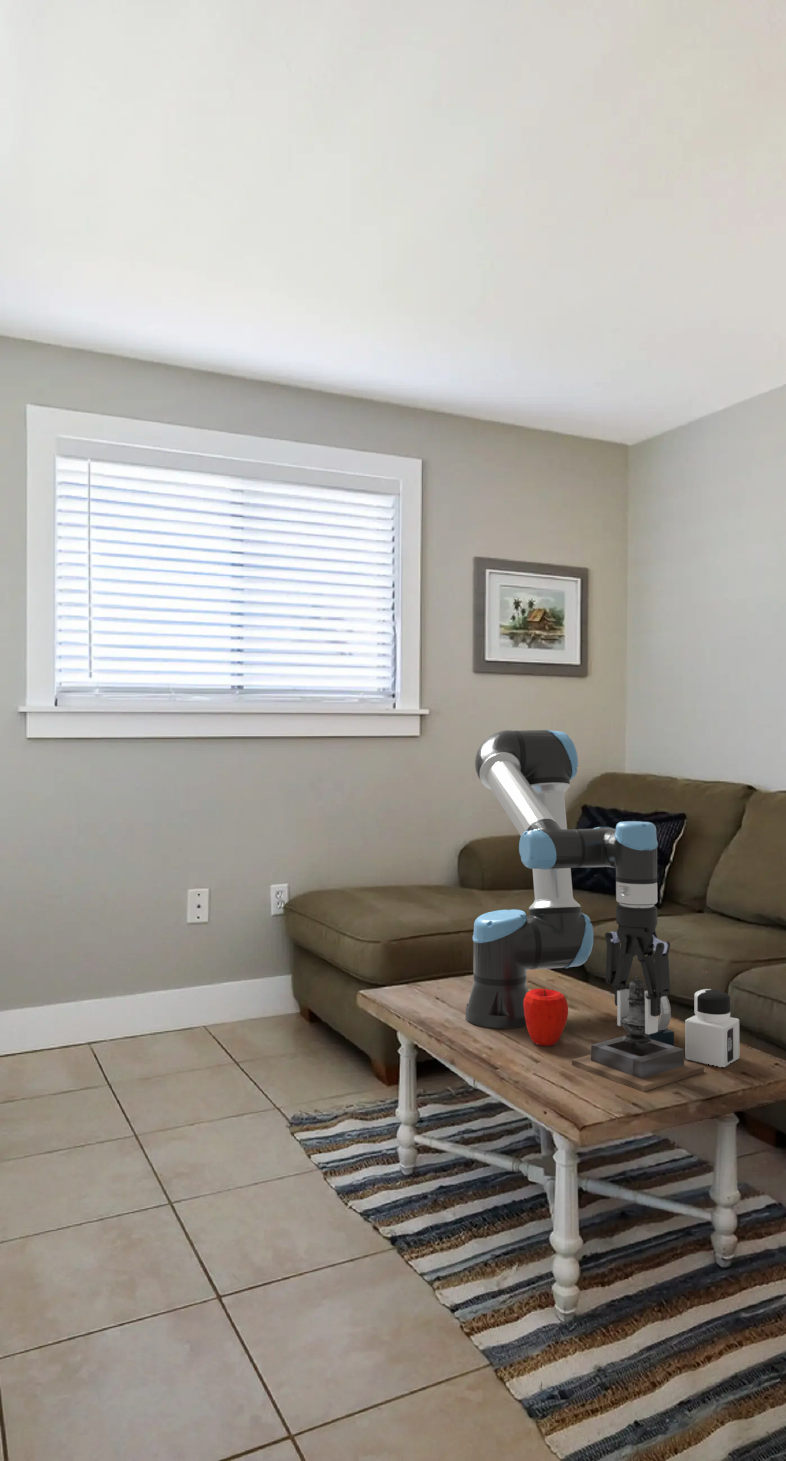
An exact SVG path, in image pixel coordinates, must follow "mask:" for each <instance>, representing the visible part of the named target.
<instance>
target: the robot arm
mask: <svg viewBox="0 0 786 1461" xmlns="http://www.w3.org/2000/svg"><path fill="white" fill-rule="evenodd" d="M474 760H475V761H474V766H475V772H476V774H477V777H478V778H479V781H480V782H481V784H482V785H483V786H484V787H485V788H486V789H489V791H490V790H491V791H492V792H493V795H494V796H495V798H496V799H497V801H498V802H499V804H500V806H501V807H502V808H503V810H504V812H505V813H506V814H507V817H508V818H509V820H510V821H511V823H512V825H513V826H514V827H515V829H516V830H517V831H518V832H517V833H518V834H519V836H520V839H519V845H518V850H519V851H518V852H519V855H520V860H521V863H522V864H523V866H524V867H526V868H528V869H531V870H532V878H533V893H534V900H533V903H532V904H531V905H530V906H529V907H528V914H529V915H528V916H527V913H526V912H525V911H524V910H521V909H515V908H513V909H500V910H499V909H498V910H493V911H489V912H485V913H483V914H481V915H479V916H477V918H476V919H475V920H474V923H473V935H472V941H473V942H472V943H473V944H472V945H473V948H472V949H473V983H472V987H471V991H470V994H469V999H468V1001H467V1003H466V1006H465V1019H466V1021H467V1022H469V1023H471V1024H472V1025H477V1026H478V1027H479V1026H480V1027H485V1028H486V1027H487V1028H493V1029H515V1028H521V1027H525V1026H526V1020H525V1014H524V1005H523V1003H524V998H525V995H526V993H527V992H529V989H528V986H527V971H529V970H545V969H548V970H549V969H569V968H573V967H580V966H582V965H583V964H585V963H586V961H588V959H589V958H590V957H589V956H590V955H591V953H592V951H593V950H592V949H593V945H594V927H593V924H592V923H591V921H592V920H591V919H590V916H588V915H587V914H585V913H584V912H582V907H581V904H580V903H578V901H576V899H574V896H573V895H574V893H573V883H572V869H573V868H575V869H576V868H605V867H606V868H614V869H615V892H616V893H615V897H616V899H615V900H616V902H617V903H618V904H617V905H616V906H615V915H616V916H615V923H616V924H617V925H618V927H617V929H616V931H615V930H614V931H609V932H605V933H604V937H605V943H606V960H605V961H606V962H605V965H606V966H605V983H606V984H607V985H610V986H612V988H613V989H614V1005H615V1007H617V1008H616V1010H617V1012H616V1014H617V1015H616V1018H617V1019H616V1023H617V1024H616V1025H617V1026H618V1027H623V1022H622V1021H621V1018H623V1017H626V1016H627V1015H628V1012H629V1001H628V1000H627V999H628V998H629V984H627V983H628V980H629V976H630V973H631V972H630V971H631V968H632V963H633V960H634V957H635V956H637V960H638V962H640V966H641V970H642V974H643V978H644V982H645V983H644V984H645V987H646V990H647V992H648V996H646V998H645V1034H652V1033H656V1032H658V1020H659V1015H661V997H664V996H667V997H668V996H670V995H671V983H670V980H671V979H670V965H669V953H670V948H671V943H670V942H669V941H668V940H667V941H663V940H661V939H659V938H658V935H657V931H656V928H657V926H658V907H657V906H656V904H657V903H658V879H657V878H658V845H659V842H658V840H657V839H658V838H657V828H656V825H655V824H654V823H653V822H650V821H641V820H639V821H635V820H633V821H631V820H630V821H629V820H627V821H619V822H618V823H616V826H615V828H613V827H610V826H598V827H594V828H578V829H577V828H575V829H574V828H573V829H568V824H567V814H566V813H567V812H566V802H565V800H566V799H565V793H566V792H567V790H568V789H569V788H570V787H571V780H573V779H574V778H575V777H576V775H577V773H578V767H579V758H578V752H577V748H576V745H575V743H574V741H573V740H572V738H571V737H569V734H567V733H566V732H563V731H560V730H549V729H542V730H540V729H539V730H538V729H536V730H535V729H534V730H512V729H507V730H501V731H498V732H495V733H492V734H491V735H489V736H488V737H487V738H486V739H485V740H484V741H483V742H482V743H481V745H480V747H479V748H478V750H477V752H476V755H475V758H474ZM654 990H655V991H654ZM526 1027H527V1026H526Z"/></svg>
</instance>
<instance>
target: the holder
mask: <svg viewBox="0 0 786 1461" xmlns="http://www.w3.org/2000/svg"><path fill="white" fill-rule="evenodd" d="M624 1036H625V1035H622V1036H619V1037H618V1036H617V1037H615V1038H611V1039H607V1040H603V1041H599V1042H596V1043H592V1044H590V1054H588V1055H584V1056H580V1057H577V1058H573V1059H572V1060H571V1065H572V1066H573V1067H576V1068H579V1069H582V1070H584V1071H586V1072H589V1073H592V1074H594V1075H597V1076H600V1077H604V1078H606V1079H608V1080H610V1081H615V1082H617V1083H619V1084H623V1085H624V1086H627V1087H631V1088H633V1089H636V1090H639V1091H641V1092H647V1091H650V1090H652V1089H656V1088H659V1087H662V1086H666V1085H668V1084H671V1083H672V1084H673V1083H675V1082H677V1081H680V1080H684V1079H687V1078H689V1077H692V1076H696V1075H699V1074H701V1072H702V1073H704V1072H705V1066H703V1065H701V1064H697V1063H695V1062H692V1061H691V1062H690V1061H689V1060H685V1048H681V1047H677V1046H675V1045H674V1046H672V1045H669V1044H665V1043H662V1042H659V1041H656V1040H652V1041H651V1042H650V1043H647V1044H634V1043H629V1042H626V1041H624V1040H623V1037H624ZM698 1073H699V1074H698Z"/></svg>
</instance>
